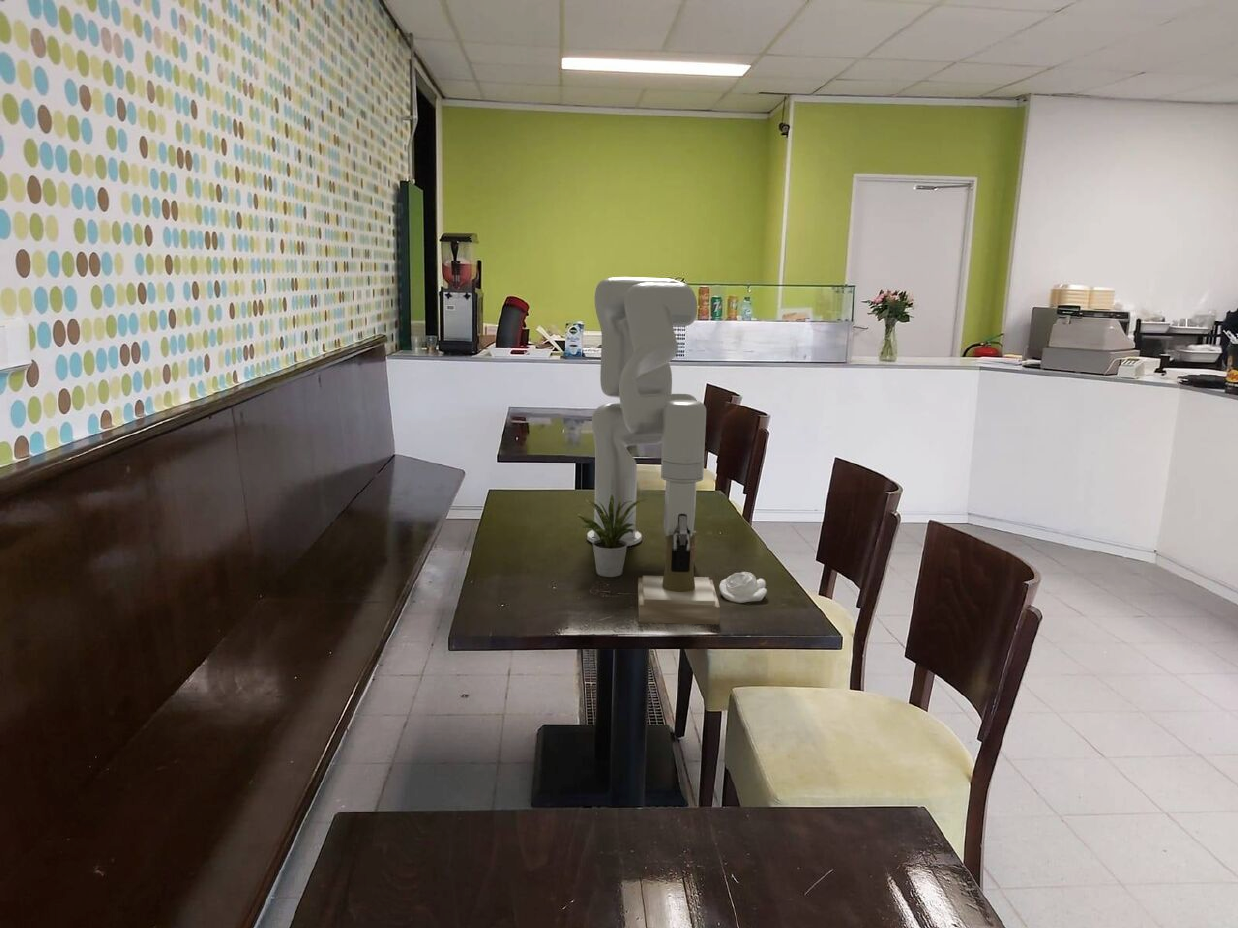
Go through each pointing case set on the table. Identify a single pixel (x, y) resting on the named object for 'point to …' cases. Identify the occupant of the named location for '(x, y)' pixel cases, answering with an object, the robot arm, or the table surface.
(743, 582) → the rose
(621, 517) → the house plant
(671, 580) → the cork
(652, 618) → the birch plinth
